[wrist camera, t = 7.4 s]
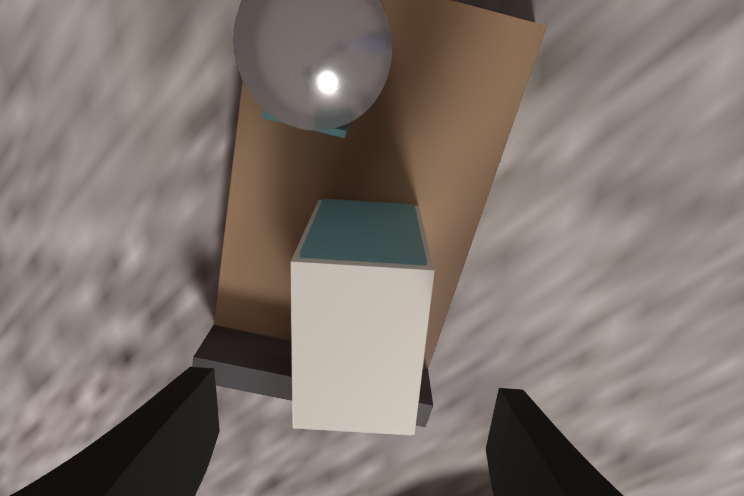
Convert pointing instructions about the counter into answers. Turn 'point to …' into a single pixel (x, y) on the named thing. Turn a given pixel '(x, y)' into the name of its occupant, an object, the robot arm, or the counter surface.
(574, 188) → the counter surface
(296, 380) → the carton
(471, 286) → the counter surface
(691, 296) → the counter surface
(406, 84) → the tan wooden panel
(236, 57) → the tin
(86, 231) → the counter surface
